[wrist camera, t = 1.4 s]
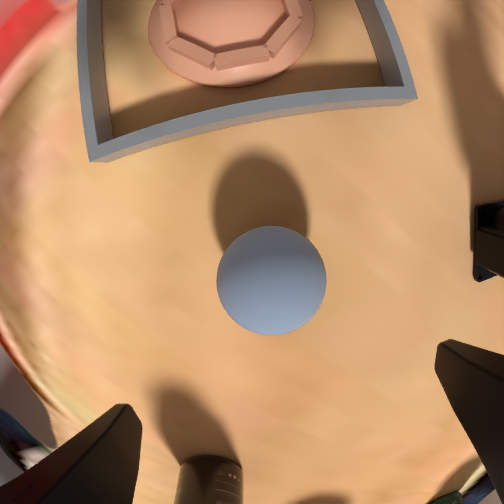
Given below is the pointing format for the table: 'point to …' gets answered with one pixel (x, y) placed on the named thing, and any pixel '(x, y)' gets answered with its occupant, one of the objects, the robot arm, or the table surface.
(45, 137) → the table surface
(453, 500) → the coffee jar
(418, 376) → the table surface
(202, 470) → the supplement bottle
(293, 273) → the ball
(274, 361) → the table surface
